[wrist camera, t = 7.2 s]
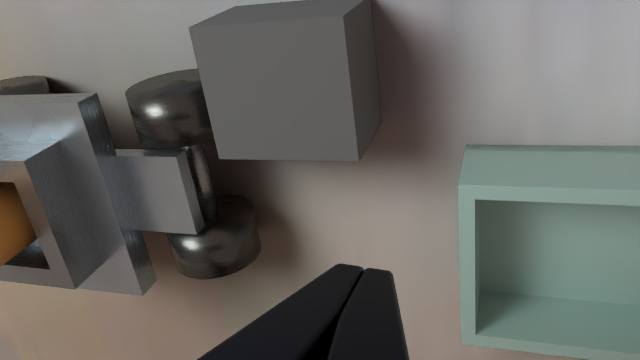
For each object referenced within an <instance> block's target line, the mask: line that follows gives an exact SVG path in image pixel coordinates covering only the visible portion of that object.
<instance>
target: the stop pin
mask: <svg viewBox="0 0 640 360" xmlns="http://www.w3.org/2000/svg"><path fill="white" fill-rule="evenodd" d="M37 239H38V238H37V236H36V233H35V231H34V229H33V226H32V224H31V222H30V219H29V217H28V214H27V212H26V210H25V207H24V205H23V203H22V200H21V198H20V196H19V193H18V191H17V188H16V186H15V184H14V182H0V267H1V266H2V265H3V264H5V263H6V262H7V261H9V260H10V259H11V258H13V257H14V256H15V255H17V254H18V253H19V252H21V251H22V250H24V249H25V248H26V247H28V246H29V245H30V244H32V243H33V242H34V241H36V240H37Z"/></svg>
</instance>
